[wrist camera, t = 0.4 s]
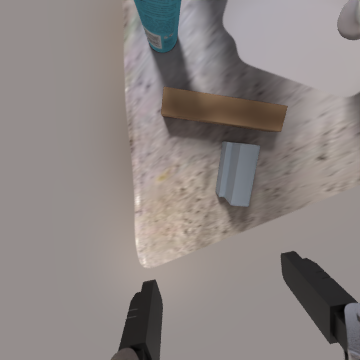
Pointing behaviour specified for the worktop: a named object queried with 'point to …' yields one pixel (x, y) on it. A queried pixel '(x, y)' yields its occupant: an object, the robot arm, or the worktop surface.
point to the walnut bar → (222, 110)
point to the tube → (160, 22)
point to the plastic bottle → (350, 20)
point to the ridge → (237, 172)
